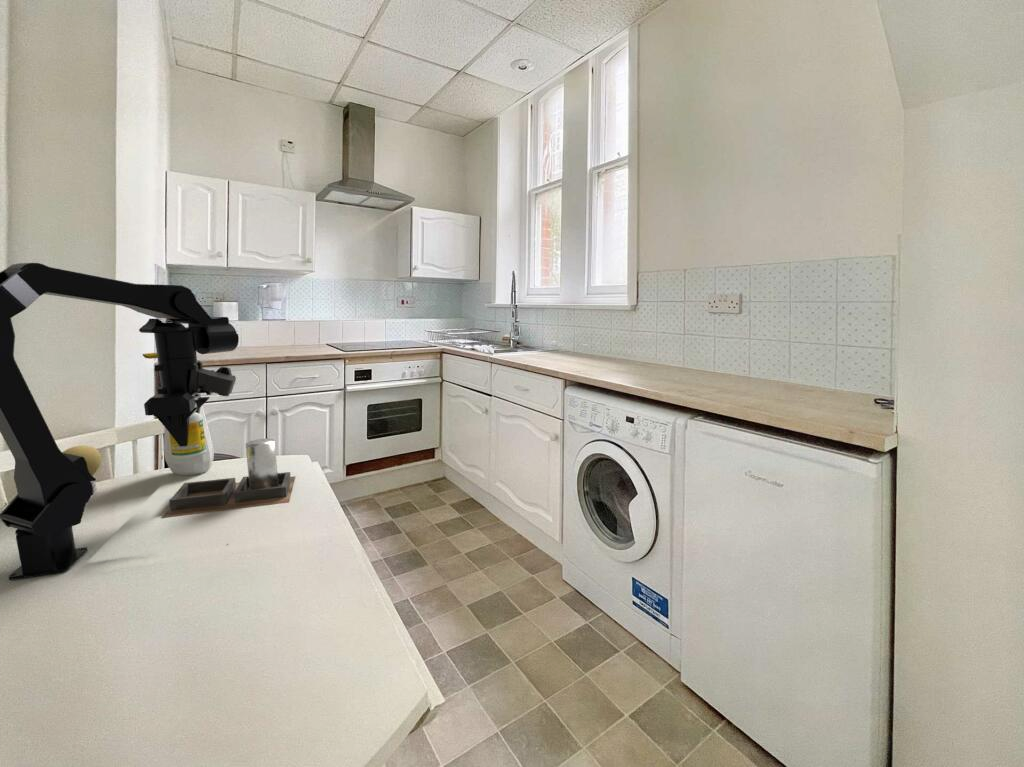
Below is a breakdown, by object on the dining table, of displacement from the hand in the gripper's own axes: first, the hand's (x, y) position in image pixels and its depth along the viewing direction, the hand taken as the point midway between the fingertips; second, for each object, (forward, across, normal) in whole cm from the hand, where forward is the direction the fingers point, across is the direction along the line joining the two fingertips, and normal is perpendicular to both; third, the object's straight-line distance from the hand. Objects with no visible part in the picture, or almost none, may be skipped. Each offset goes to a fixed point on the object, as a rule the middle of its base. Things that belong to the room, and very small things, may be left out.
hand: (187, 441), depth 86 cm
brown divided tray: (+13, 0, -7) cm, 14 cm away
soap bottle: (+13, +19, +6) cm, 24 cm away
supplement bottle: (+3, 0, 0) cm, 3 cm away
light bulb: (+13, +14, +22) cm, 29 cm away
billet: (+11, -1, -12) cm, 16 cm away
